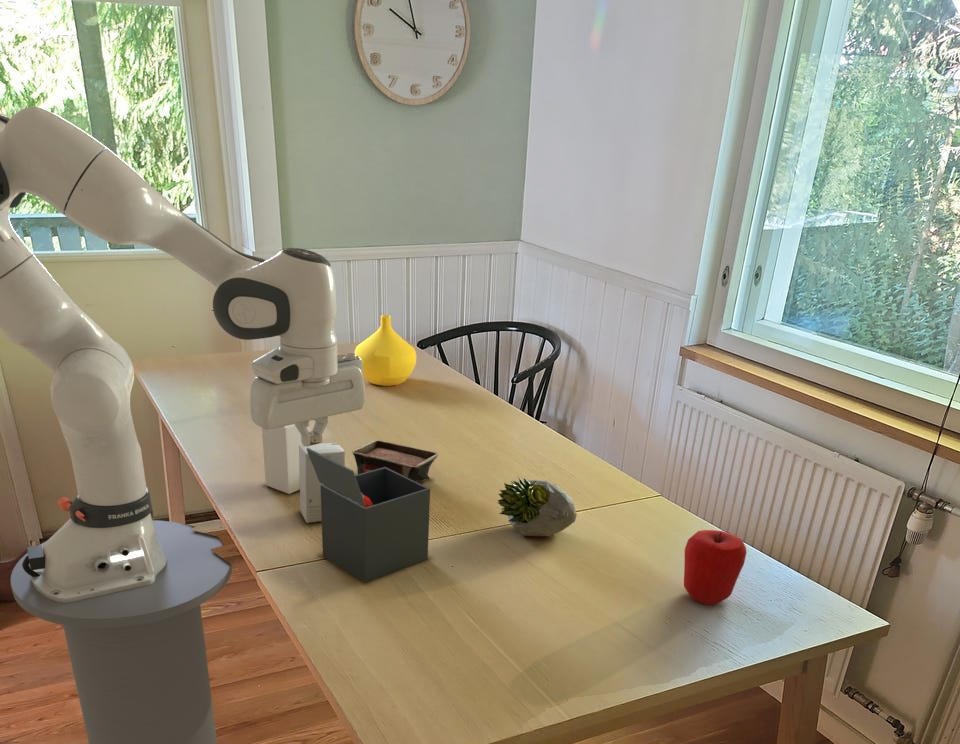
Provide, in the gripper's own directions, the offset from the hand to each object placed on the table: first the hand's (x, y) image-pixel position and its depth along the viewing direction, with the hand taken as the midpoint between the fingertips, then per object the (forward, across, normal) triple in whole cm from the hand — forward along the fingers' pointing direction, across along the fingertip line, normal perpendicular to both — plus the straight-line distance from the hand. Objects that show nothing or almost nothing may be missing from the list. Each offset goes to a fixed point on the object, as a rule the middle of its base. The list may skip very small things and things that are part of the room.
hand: (311, 443), depth 144 cm
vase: (+26, -87, -86) cm, 125 cm away
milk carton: (+26, -20, -38) cm, 50 cm away
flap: (+7, -5, 0) cm, 8 cm away
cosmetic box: (+26, -16, -21) cm, 37 cm away
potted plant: (+25, -45, +12) cm, 53 cm away
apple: (+25, -51, +50) cm, 76 cm away
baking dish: (+26, -40, -26) cm, 54 cm away
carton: (+25, -13, 0) cm, 29 cm away
